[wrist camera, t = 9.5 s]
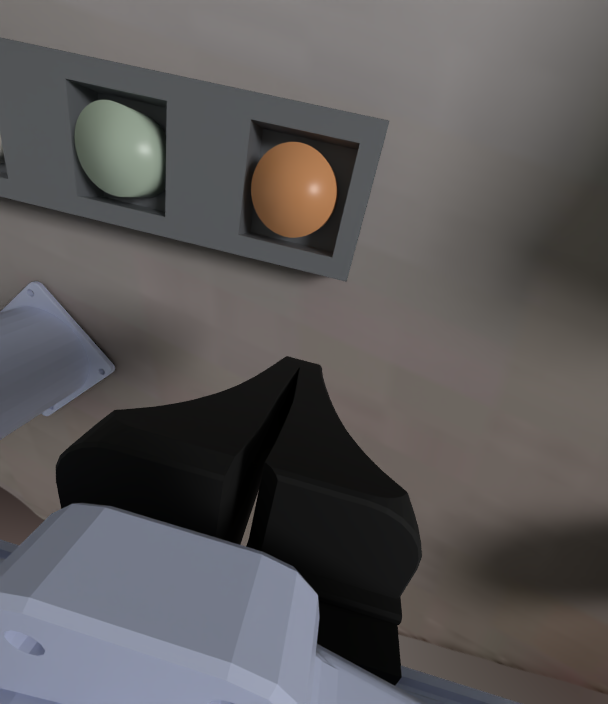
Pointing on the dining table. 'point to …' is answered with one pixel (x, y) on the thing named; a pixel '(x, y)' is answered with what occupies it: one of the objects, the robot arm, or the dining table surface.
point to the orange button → (294, 189)
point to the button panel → (181, 154)
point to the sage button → (121, 150)
